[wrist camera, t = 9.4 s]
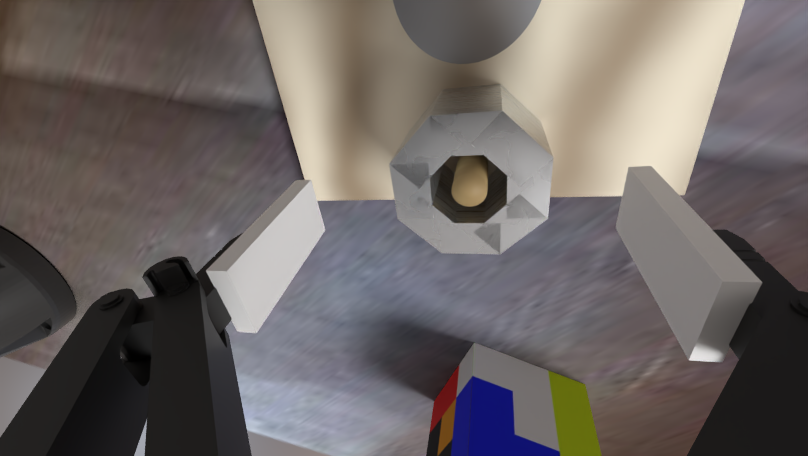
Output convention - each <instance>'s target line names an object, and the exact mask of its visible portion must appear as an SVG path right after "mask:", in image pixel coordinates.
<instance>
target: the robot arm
mask: <svg viewBox="0 0 808 456" xmlns="http://www.w3.org/2000/svg"><path fill="white" fill-rule="evenodd" d="M616 230H617V232H618V233H619V235H620V237H621V239H622V241H623V242H624V244H625V246H626V248H627V250H628V251H629V253H630V255H631V257H632V259H633V260H634V262H635V264H636V266H637V268H638V269H639V271H640V273H641V275H642V277H643V278H644V280H645V282H646V284H647V286H648V288H649V289H650V291H651V293H652V295H653V297H654V298H655V300H656V302H657V304H658V306H659V307H660V309H661V311H662V313H663V315H664V316H665V318H666V320H667V322H668V324H669V325H670V327H671V329H672V331H673V333H674V334H675V336H676V338H677V340H678V342H679V343H680V345H681V347H682V349H683V351H684V352H685V354H686V356H687V358H688V360H693V361H709V362H722V361H723V359H724V357H725V355H726V353H727V351H728V350H729V348H730V347H731V349H732V350H733V351H734V353H735V354H736V356H737V357H738V359H739V361H738V363H737V365H736V367H735V368H734V370H733V372H732V374H731V376H730V378H729V379H728V381H727V383H726V385H725V387H724V389H723V390H722V392H721V394H720V396H719V398H718V400H717V401H716V403H715V405H714V407H713V409H712V411H711V412H710V414H709V416H708V418H707V420H706V422H705V423H704V425H703V427H702V429H701V431H700V433H699V434H698V436H697V438H696V440H695V442H694V444H693V445H692V447H691V449H690V451H689V453H688V455H687V456H808V293H807V292H803V291H798V290H797V289H796V288H795V287H794V286H793V285H792V284H791V283H789V282H788V281H787V280H786V279H785V278H784V277H783V276H782V275H781V274H780V273H779V272H778V271H777V270H776V269H775V268H774V267H773V266H772V265H771V264H770V263H768V262H765V259H764V258H763V257H762V256H761V255H760V254H759V253H758V252H756V250H755V249H754V248H753V247H752V246H751V245H750V244H749V243H748V242H746V241H745V240H744V239H743V238H741V237H739V236H737V235H735V234H733V233H731V232H729V231H728V230H712V229H711V228H710V227H709V226H708V225H707V224H706V223H705V222H704V221H703V220H702V219H701V218H700V217H699V215H698V214H697V213H696V212H695V211H694V210H693V209H692V208H691V207H690V206H689V205H688V204H687V203H686V202H685V201H684V200H683V199H682V198H681V197H680V196H679V195H678V194H677V192H676V191H675V190H674V189H673V188H672V187H671V186H670V185H669V184H668V183H667V182H666V181H665V180H664V179H663V178H662V177H661V176H660V175H659V174H658V173H657V172H656V170H655V169H654V168H653V167H652V166H637V167H628V172H627V176H626V181H625V186H624V191H623V195H622V200H621V205H620V210H619V214H618V219H617V224H616ZM324 231H325V227H324V224H323V220H322V216H321V213H320V209H319V206H318V202H317V199H316V195H315V192H314V188H313V185H312V181H311V180H296V181H295V182H294V183H293V184H292V185H291V186H290V187H289V188H288V189H287V190H286V191H285V192H284V193H283V194H282V195H281V196H280V197H279V198H278V199H277V200H276V201H275V202H274V203H273V204H272V205H271V206H270V207H269V208H268V209H267V210H266V211H265V212H264V213H263V214H262V215H261V216H260V217H259V218H258V219H257V220H256V221H255V222H254V223H253V224H252V225H251V226H250V227H249V228H248V229H247V230H246V231H245V232H244V233H242V234H240V235H239V236H237V237H235V238H234V239H232V240H230V241H229V242H228V243H227V244H226V245H225V246H224V247H223V248H222V250H220V251H219V252H218V253H217V254H216V255H215V257H213V258H212V259H211V260H210V261H209V262H208V263H207V264H206V265H205V266H204V267H203V268H202V269H201V270H200V271H199V272H198V273H197V274H195V272H194V270H193V269H192V267H191V265H190V263H189V261H188V260H187V258H185V257H182V256H181V257H172V258H169V259H165V260H163V261H161V262H158V263H157V264H155V265H153V266H152V267H150V268H149V269H148V270H147V271H146V272H145V273H144V275H143V277H142V278H143V279H144V281H145V282H146V284H147V285H148V287H149V288H150V290H151V292H152V293H153V295H154V296H153V297H148V298H143V299H139V298H138V297H137V295H136V294H135V292H134V291H133V290H132V289H121V290H117V291H114V292H110V293H108V294H107V295H106V294H105V295H104V296H102V297H101V298H100V299H98V300H97V301H96V302H94V303H93V304H92V305H91V306H90V307H89V309H88V310H87V312H86V313H85V314H84V316H83V317H82V319H81V320H80V322H79V323H78V325H77V326H76V328H75V329H74V331H73V332H72V333H71V335H70V336H69V338H68V339H67V341H66V342H65V344H64V345H63V347H62V348H61V350H60V351H59V352H58V354H57V355H56V357H55V358H54V360H53V361H52V363H51V364H50V366H49V367H48V369H47V370H46V371H45V373H44V375H43V376H42V377H41V379H40V381H39V382H38V383H37V385H36V386H35V388H34V389H33V390H32V392H31V393H30V395H29V396H28V398H27V399H26V401H25V402H24V404H23V405H22V407H21V408H20V410H19V411H18V413H17V414H16V415H15V417H14V418H13V420H12V421H11V423H10V424H9V426H8V427H7V429H6V430H5V432H4V433H3V434H2V436H1V437H0V456H134V454H135V451H136V448H137V445H138V442H139V440H140V437H141V434H142V431H143V428H144V425H145V422H146V419H147V430H146V446H145V456H252V455H251V450H250V445H249V439H248V434H247V429H246V424H245V418H244V413H243V408H242V403H241V397H240V392H239V387H238V381H237V376H236V371H235V366H234V360H233V355H232V350H231V345H230V339H229V335H228V333H227V331H226V329H225V327H226V326H227V325H228V323H229V322H230V321H231V320H232V322H233V324H234V326H235V328H236V330H237V332H248V333H257V332H258V330H259V329H260V327H261V326H262V324H263V323H264V321H265V320H266V318H267V317H268V315H269V314H270V312H271V311H272V309H273V308H274V306H275V305H276V303H277V302H278V300H279V299H280V297H281V296H282V294H283V293H284V291H285V290H286V288H287V287H288V285H289V284H290V282H291V281H292V279H293V278H294V276H295V275H296V273H297V272H298V270H299V269H300V267H301V266H302V264H303V263H304V261H305V260H306V258H307V257H308V255H309V254H310V252H311V251H312V249H313V248H314V246H315V245H316V243H317V242H318V240H319V239H320V237H321V236H322V234H323V233H324ZM75 314H76V302H75V299H74V296H73V294H72V292H71V290H70V289H69V287H68V285H67V284H66V282H65V281H64V280H63V278H62V277H61V276H60V275H59V273H58V272H57V271H56V270H55V269H54V268H53V267H52V266H51V265H50V264H49V263H48V262H47V261H46V260H45V259H44V258H43V257H42V256H41V255H40V254H38V253H37V252H36V251H35V250H34V249H32V248H31V247H30V246H28V245H27V244H26V243H24V242H23V241H21V240H20V239H18V238H17V237H15V236H14V235H12V234H10V233H9V232H7V231H5V230H4V229H2V228H0V358H1V357H3V356H5V355H7V354H10V353H12V352H14V351H16V350H19V349H21V348H23V347H25V346H28V345H30V344H32V343H34V342H37V341H39V340H41V339H44V338H46V337H48V336H50V335H52V334H54V333H55V332H57V331H58V330H59V329H60V328H62V327H63V326H64V325H66V324H67V323H68V322H69V321H71V320H72V319H73V318H74V316H75ZM120 356H121V357H122V358H121V357H120Z"/></svg>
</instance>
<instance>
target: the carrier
mask: <svg viewBox="0 0 808 456" xmlns="http://www.w3.org/2000/svg"><path fill="white" fill-rule="evenodd" d="M744 2H745V0H253V4H254V7H255V11H256V14H257V18H258V21H259V24H260V28H261V31H262V35H263V38H264V42H265V45H266V48H267V52H268V55H269V59H270V62H271V66H272V69H273V72H274V76H275V79H276V83H277V86H278V90H279V93H280V96H281V100H282V103H283V107H284V110H285V114H286V117H287V121H288V124H289V127H290V131H291V134H292V138H293V141H294V145H295V148H296V151H297V155H298V158H299V162H300V165H301V169H302V172H303V175H304V179H305V180H311V181H312V185H313V188H314V192H315V195H316V199H317V201H326V200H392V199H394V192H393V186H392V180H391V173H390V167H389V164H390V162H391V160H392V159H393V157H394V155H395V154H396V152H397V150H398V149H399V147H400V145H401V144H402V142H403V141H404V139H405V137H406V136H407V134H408V132H409V131H410V129H411V128H412V127H413V126H414V124H415V123H416V122H417V121H418V119H419V118H420V117H421V116H422V115H423V113H424V112H425V111H426V110H427V108H428V107H429V106H430V105H431V104H432V102H433V101H434V100H435V99H436V98H437V96H438V95H439V94H440V93H441V91H442V90H443V89H448V88H459V87H471V86H482V85H493V84H501V85H502V86H504V87H505V88H506V89H507V90H508V91H509V92H510V93H511V94H512V95H513V96H514V97H515V98H516V99H517V100H518V101H519V102H521V103H522V104H523V105H524V106H525V107H526V108H527V109H528V110H529V111H530V112H531V113H532V114H533V115H534V116H535V117H537V118H538V119H539V120H540V121H541V123H542V126H543V129H544V132H545V135H546V138H547V140H548V143H549V146H550V149H551V152H552V155H553V169H552V180H551V190H550V197H589V196H622V195H623V191H624V186H625V181H626V176H627V172H628V167H637V166H652V167H653V168H654V169H655V170H656V172H657V173H658V174H659V175H660V176H661V177H662V178H663V179H664V180H665V181H666V182H667V183H668V184H669V185H670V186H671V187H672V188H673V189H674V190H675V191H676V192H677V194H678V195H685V192H686V189H687V186H688V182H689V179H690V176H691V173H692V170H693V166H694V163H695V160H696V157H697V153H698V150H699V147H700V144H701V141H702V137H703V134H704V131H705V128H706V124H707V121H708V118H709V115H710V111H711V108H712V105H713V102H714V99H715V95H716V92H717V89H718V86H719V82H720V79H721V76H722V73H723V70H724V66H725V63H726V60H727V57H728V53H729V50H730V47H731V44H732V40H733V37H734V34H735V31H736V28H737V24H738V21H739V18H740V15H741V11H742V8H743V5H744ZM444 164H445V165H446V166H447V167H448V168H450V169H451V170H452V171H453V172H454V173H455V175H454V180H453V185H452V196H453V198H454V199H455V201H456V202H458V203H459V204H461V205H463V206H468V207H471V206H476V205H479V204H480V203H482V202H483V201H484V199H485V198H486V196H487V189H488V176H489V175H491V174H492V173H493V172H494V171H495V170H496V169H497V168H498V167H497V166H496V165H495V164H493V163H492V162H491V161H490V160H489V159H488V158H486V157H485V156H484V155H470V156H450V157H449V158H448V159H447V160H446V161H445V162H444Z"/></svg>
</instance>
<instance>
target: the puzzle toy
mask: <svg viewBox="0 0 808 456" xmlns="http://www.w3.org/2000/svg"><path fill="white" fill-rule="evenodd" d="M426 456H601V451H600V447H599V443H598V438H597V434H596V430H595V425H594V421H593V417H592V412H591V408H590V404H589V399H588V395H587V391H586V386H585V384H583V383H580V382H577V381H575V380H572V379H569V378H567V377H564V376H561V375H559V374H556V373H554V372H551V371H548V370H546V369H543V368H540V367H538V366H535V365H532V364H530V363H527V362H525V361H522V360H519V359H517V358H514V357H511V356H509V355H506V354H503V353H501V352H498V351H496V350H493V349H490V348H488V347H485V346H482V345H480V344H477V343H474V344H473V345H472V347H471V348H470V349H469V351H468V352H467V354H466V355H465V357H464V358H463V360H462V361H461V363H460V364H459V366H458V367H457V369H456V370H455V371H454V373H453V374H452V376H451V377H450V379H449V380H448V382H447V383H446V385H445V386H444V388H443V389H442V391H441V392H440V393H439V395H438V396H437V398H436V399H435V401H434V407H433V414H432V420H431V427H430V434H429V441H428V448H427V454H426Z"/></svg>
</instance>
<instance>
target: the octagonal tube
mask: <svg viewBox="0 0 808 456" xmlns="http://www.w3.org/2000/svg"><path fill="white" fill-rule="evenodd" d="M470 155H484V156H485V157H486V158H488V159H489V160H490V161H491V162H492V163H493V164H495V165H496V166H497V167H498V168H497V169H496V170H495V171H494V172H493V173H492V174H491V175H489V176H488V189H487V196H486V198H485V199H484V201H483V202H482V203H480V204H479V205H476V206H471V207H468V206H463V205H461V204H459V203H458V202H456V201H455V199H454V198H453V196H452V185H453V180H454V175H455V173H454V172H453V171H452V170H451V169H450V168H448V167H447V166H446V165H445V164H444V162H445V161H446V160H447V159H448V158H449V157H450V156H470ZM389 167H390V173H391V180H392V186H393V192H394V199H395V205H396V211H397V218H398V220H400V221H401V222H402V223H404V224H405V225H406V226H407V227H409V228H410V229H411V230H413V231H414V232H415V233H416V234H418V235H419V236H420V237H422V238H423V239H424V240H426V241H427V242H428V243H429V244H431V245H432V246H433V247H435V248H436V249H437V250H438V251H440V252H441V253H461V254H501V253H503V252H504V251H505V250H507V249H508V248H509V247H511V246H512V245H513V244H515V243H516V242H517V241H519V240H520V239H521V238H523V237H524V236H525V235H527V234H528V233H529V232H531V231H532V230H533V229H535V228H536V227H537V226H539V225H540V224H541V223H543V222H544V221H545V220H546V219H548V212H549V201H550V190H551V180H552V169H553V155H552V152H551V149H550V146H549V143H548V140H547V138H546V135H545V132H544V129H543V126H542V123H541V121H540V120H539V119H538V118H537V117H535V116H534V115H533V114H532V113H531V112H530V111H529V110H528V109H527V108H526V107H525V106H524V105H523V104H522V103H521V102H519V101H518V100H517V99H516V98H515V97H514V96H513V95H512V94H511V93H510V92H509V91H508V90H507V89H506V88H505V87H504V86H502V85H501V84H493V85H482V86H471V87H459V88H448V89H443V90H442V91H441V93H440V94H439V95H438V96H437V98H436V99H435V100H434V101H433V102H432V104H431V105H430V106H429V107H428V108H427V110H426V111H425V112H424V113H423V115H422V116H421V117H420V118H419V119H418V121H417V122H416V123H415V124H414V126H413V127H412V128H411V129H410V131H409V132H408V134H407V136H406V137H405V139H404V141H403V142H402V144H401V145H400V147H399V149H398V150H397V152H396V154H395V155H394V157H393V159H392V160H391V162H390V164H389Z"/></svg>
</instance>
